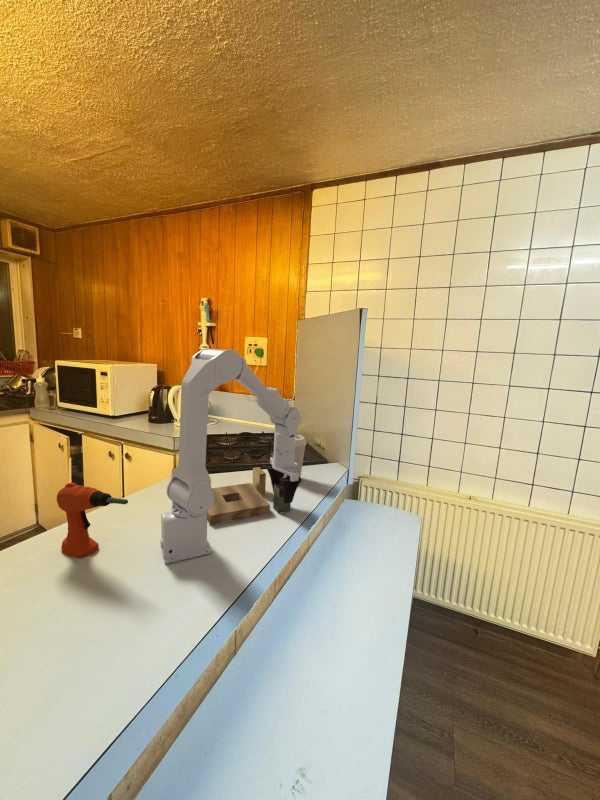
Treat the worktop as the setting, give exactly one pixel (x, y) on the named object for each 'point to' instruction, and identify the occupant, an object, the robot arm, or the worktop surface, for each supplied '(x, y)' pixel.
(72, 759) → the worktop surface
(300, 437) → the coffee cup
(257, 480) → the block
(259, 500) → the plate
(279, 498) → the square bit
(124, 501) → the toy drill
